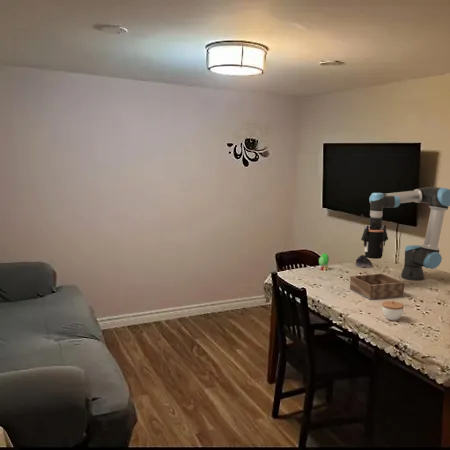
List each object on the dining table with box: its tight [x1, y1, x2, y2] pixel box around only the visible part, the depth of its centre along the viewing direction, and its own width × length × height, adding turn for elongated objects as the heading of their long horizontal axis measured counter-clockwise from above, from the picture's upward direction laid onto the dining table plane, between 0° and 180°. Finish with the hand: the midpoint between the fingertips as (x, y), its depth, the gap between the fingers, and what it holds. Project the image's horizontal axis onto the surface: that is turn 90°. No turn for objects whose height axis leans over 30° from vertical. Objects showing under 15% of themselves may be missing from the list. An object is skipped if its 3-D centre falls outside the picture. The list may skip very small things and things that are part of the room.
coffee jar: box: [364, 228, 384, 260], centre depth 292 cm, size 11×11×18 cm
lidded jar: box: [381, 300, 405, 321], centre depth 241 cm, size 11×11×9 cm
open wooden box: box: [349, 273, 405, 301], centre depth 285 cm, size 23×23×9 cm
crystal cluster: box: [355, 254, 373, 268], centre depth 356 cm, size 13×14×10 cm
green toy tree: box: [318, 252, 330, 272], centre depth 345 cm, size 15×14×14 cm
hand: (373, 251), depth 293 cm, fingers closed on coffee jar, 11 cm apart
